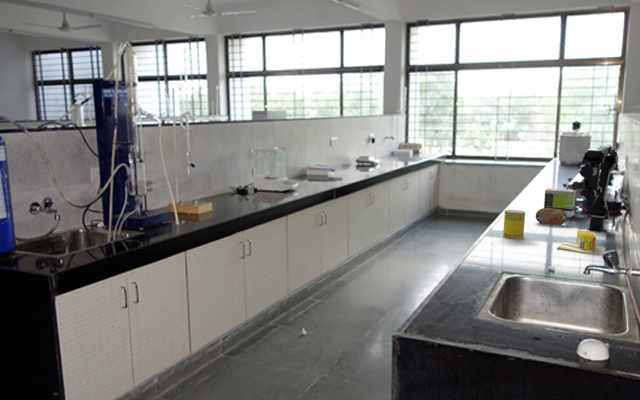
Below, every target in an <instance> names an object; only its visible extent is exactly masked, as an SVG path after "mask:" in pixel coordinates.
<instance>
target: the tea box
mask: <svg viewBox="0 0 640 400" xmlns="http://www.w3.org/2000/svg"><path fill="white" fill-rule="evenodd" d="M576 191H577V190H574V191H573V189H568V188H567V189H566V188H565V189H564V188H546V189H545V190H544V202H543V208H548V209H561V210H563V211H564V212H565V213H566V214H567V218H571V217H572V216H575V207H576V206H575V205H576V204H575V203H576V195H577V194H576Z"/></svg>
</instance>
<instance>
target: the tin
mask: <svg viewBox="0 0 640 400" xmlns="http://www.w3.org/2000/svg"><path fill="white" fill-rule="evenodd" d="M535 220H536V221H537V222H538V224H541V225H549V224H551V225H553V226H562V225H564V224H565V223H566V222H567V220H568V217H567V214H566V213H565V212H564V211H563V210H561V209H548V208H544V207H543V208H540V209H538V210H537V212H536V213H535ZM551 225H550V226H551Z"/></svg>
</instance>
